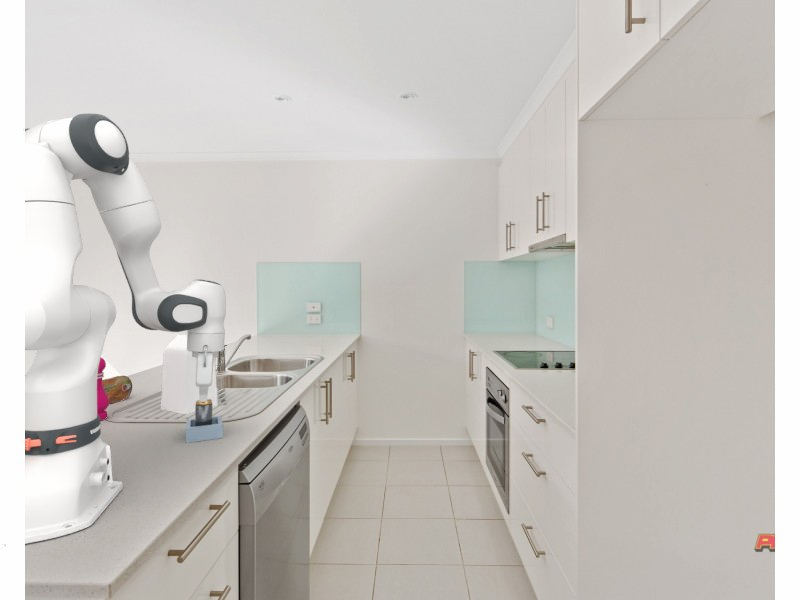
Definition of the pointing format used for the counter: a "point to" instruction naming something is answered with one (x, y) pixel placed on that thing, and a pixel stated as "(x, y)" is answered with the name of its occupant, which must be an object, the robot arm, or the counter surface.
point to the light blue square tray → (204, 430)
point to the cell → (203, 413)
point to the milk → (182, 378)
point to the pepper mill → (101, 392)
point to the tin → (117, 388)
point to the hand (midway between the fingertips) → (203, 396)
